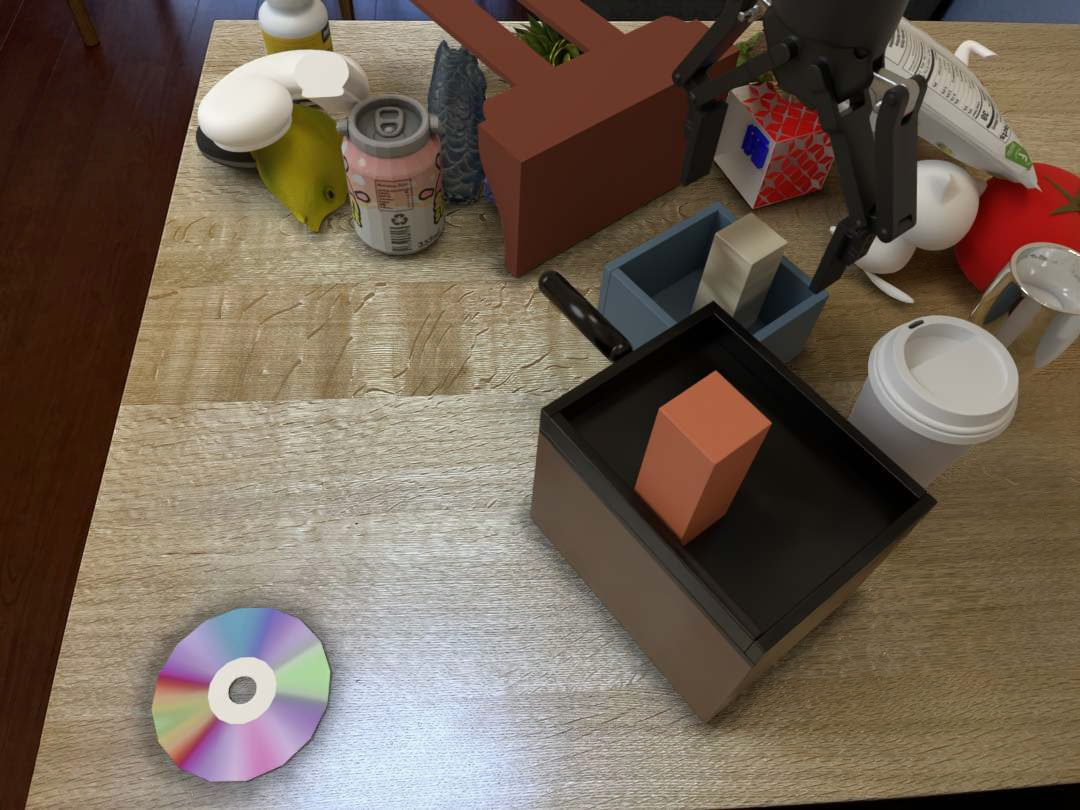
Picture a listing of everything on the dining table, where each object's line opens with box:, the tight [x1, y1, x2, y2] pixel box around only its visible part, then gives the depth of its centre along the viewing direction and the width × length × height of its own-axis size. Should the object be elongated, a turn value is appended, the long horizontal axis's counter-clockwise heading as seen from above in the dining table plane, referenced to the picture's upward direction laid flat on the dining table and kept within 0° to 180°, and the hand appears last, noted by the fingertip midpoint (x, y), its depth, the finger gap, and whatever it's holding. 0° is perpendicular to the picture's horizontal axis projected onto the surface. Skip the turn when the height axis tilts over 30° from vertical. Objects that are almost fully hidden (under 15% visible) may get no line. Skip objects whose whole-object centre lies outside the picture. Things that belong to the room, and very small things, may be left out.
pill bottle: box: [257, 0, 334, 107], centre depth 85 cm, size 6×6×12 cm
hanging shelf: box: [408, 0, 740, 278], centre depth 82 cm, size 24×13×30 cm
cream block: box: [690, 212, 789, 330], centre depth 71 cm, size 4×4×10 cm
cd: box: [151, 607, 332, 783], centre depth 57 cm, size 11×11×1 cm
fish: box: [250, 100, 349, 233], centre depth 81 cm, size 3×16×10 cm
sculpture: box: [197, 50, 371, 152], centre depth 73 cm, size 12×15×8 cm
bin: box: [596, 200, 831, 365], centre depth 72 cm, size 13×13×8 cm
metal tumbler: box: [966, 242, 1080, 387], centre depth 67 cm, size 7×7×15 cm
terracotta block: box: [634, 371, 772, 546], centre depth 47 cm, size 4×4×10 cm
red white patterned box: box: [713, 81, 835, 210], centre depth 83 cm, size 8×8×8 cm
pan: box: [529, 269, 939, 725], centre depth 59 cm, size 28×15×15 cm, turn 38°
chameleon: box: [729, 28, 800, 103], centre depth 86 cm, size 7×30×16 cm
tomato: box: [954, 162, 1080, 293], centre depth 76 cm, size 14×13×10 cm
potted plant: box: [495, 12, 584, 89], centre depth 84 cm, size 12×13×15 cm
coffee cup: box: [847, 314, 1019, 489], centre depth 62 cm, size 10×10×15 cm
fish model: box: [427, 38, 488, 206], centre depth 85 cm, size 7×21×5 cm, turn 4°
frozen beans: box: [869, 15, 1042, 192], centre depth 75 cm, size 21×6×25 cm
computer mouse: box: [195, 99, 300, 172], centre depth 83 cm, size 7×12×4 cm, turn 159°
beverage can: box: [336, 93, 446, 256], centre depth 75 cm, size 9×8×12 cm
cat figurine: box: [829, 159, 987, 304], centre depth 76 cm, size 9×11×12 cm
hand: (756, 228), depth 66 cm, fingers open, 13 cm apart
